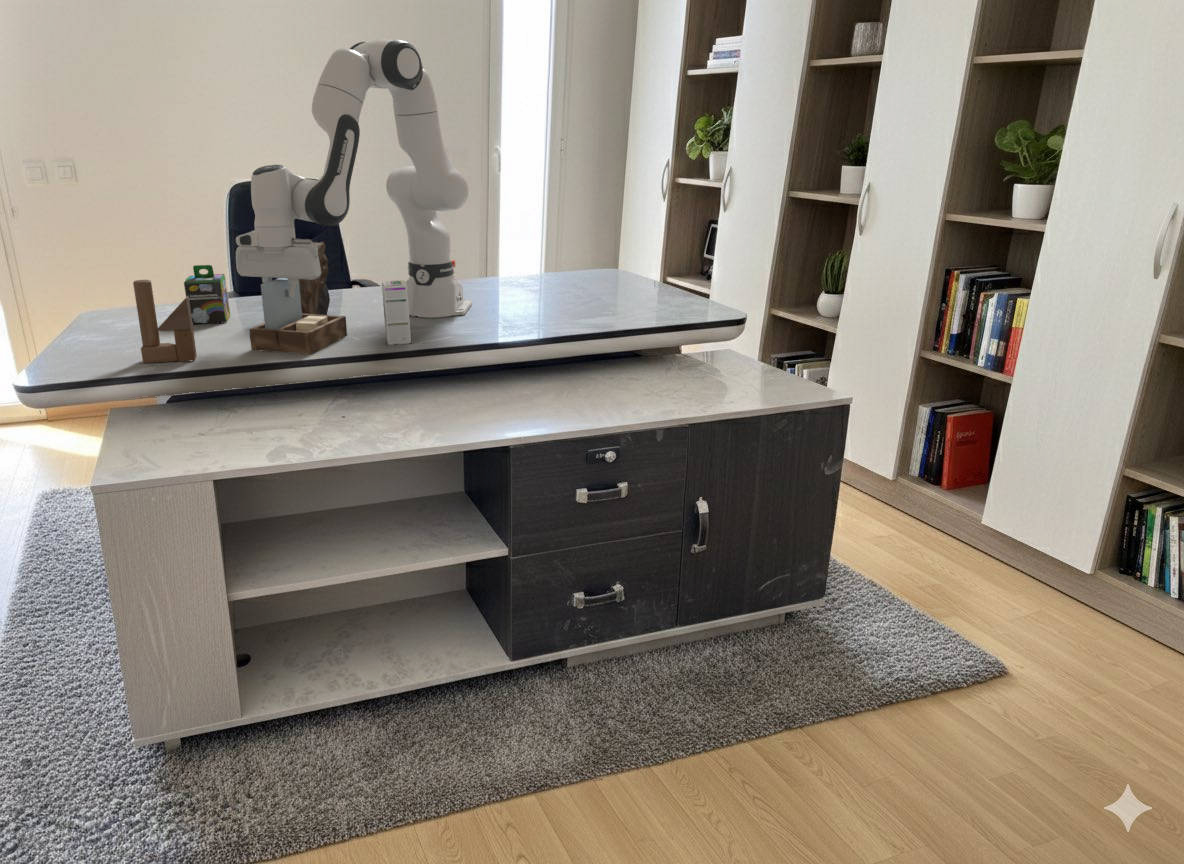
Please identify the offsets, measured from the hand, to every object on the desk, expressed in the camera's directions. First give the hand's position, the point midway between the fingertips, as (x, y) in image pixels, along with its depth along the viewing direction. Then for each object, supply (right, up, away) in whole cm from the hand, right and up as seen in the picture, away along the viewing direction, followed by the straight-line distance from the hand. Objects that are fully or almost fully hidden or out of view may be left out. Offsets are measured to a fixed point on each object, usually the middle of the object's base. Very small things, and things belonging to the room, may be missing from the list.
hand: (281, 296), depth 221 cm
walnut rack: (+4, -11, +3) cm, 12 cm away
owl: (-3, -2, +27) cm, 28 cm away
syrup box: (+27, -11, +5) cm, 29 cm away
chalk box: (-27, -3, +25) cm, 37 cm away
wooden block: (-20, -17, -13) cm, 29 cm away
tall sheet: (0, -10, +4) cm, 11 cm away
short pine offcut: (+7, -7, +1) cm, 10 cm away
